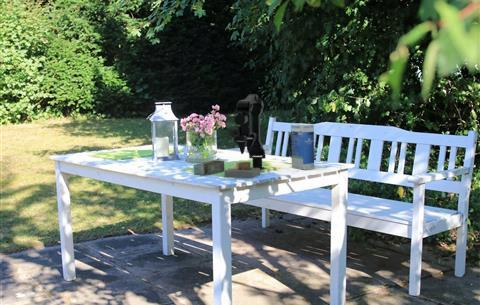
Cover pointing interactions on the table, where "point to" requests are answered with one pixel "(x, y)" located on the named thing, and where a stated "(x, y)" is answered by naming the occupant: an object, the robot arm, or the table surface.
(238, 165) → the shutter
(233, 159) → the table surface
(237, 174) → the socket block
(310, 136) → the string lights box
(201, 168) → the beverage carton
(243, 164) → the plug
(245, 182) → the table surface
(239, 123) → the robot arm
